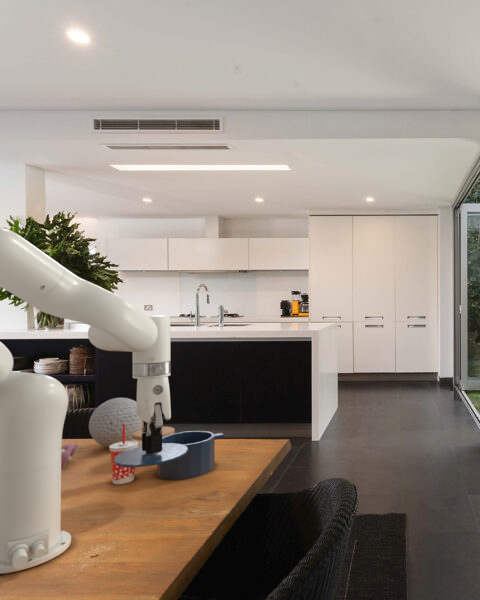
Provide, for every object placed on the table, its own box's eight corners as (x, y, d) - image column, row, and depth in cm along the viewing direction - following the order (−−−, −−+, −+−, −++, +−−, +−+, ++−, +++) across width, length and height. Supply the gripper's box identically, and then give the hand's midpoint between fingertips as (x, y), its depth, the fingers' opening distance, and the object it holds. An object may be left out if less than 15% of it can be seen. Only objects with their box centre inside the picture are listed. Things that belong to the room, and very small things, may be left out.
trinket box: (182, 453, 133) (182, 421, 133) (158, 465, 122) (159, 431, 123) (148, 451, 134) (148, 420, 134) (122, 464, 124) (122, 430, 124)
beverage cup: (129, 474, 116) (129, 420, 116) (142, 478, 113) (143, 423, 113) (103, 482, 111) (104, 425, 111) (116, 487, 108) (117, 429, 108)
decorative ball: (139, 436, 150) (139, 391, 150) (151, 446, 139) (151, 398, 139) (85, 446, 140) (85, 397, 140) (92, 457, 129) (93, 405, 129)
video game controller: (58, 478, 118) (73, 452, 119) (39, 472, 116) (54, 446, 117) (70, 465, 127) (84, 442, 128) (53, 460, 125) (67, 436, 127)
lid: (197, 458, 101) (196, 431, 101) (121, 475, 91) (121, 445, 91) (176, 443, 112) (176, 419, 112) (107, 457, 102) (107, 430, 102)
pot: (232, 467, 121) (232, 436, 121) (154, 487, 108) (154, 451, 108) (213, 455, 131) (213, 426, 131) (139, 471, 118) (140, 439, 118)
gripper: (180, 371, 98) (181, 456, 98) (159, 364, 110) (160, 439, 110) (142, 375, 93) (142, 464, 93) (124, 367, 105) (124, 446, 105)
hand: (152, 450), depth 101 cm, fingers closed on lid, 2 cm apart
